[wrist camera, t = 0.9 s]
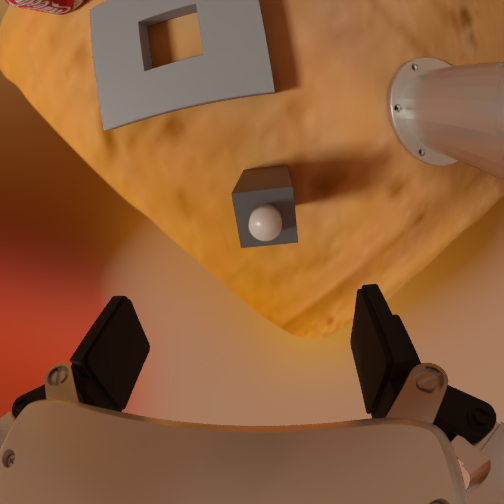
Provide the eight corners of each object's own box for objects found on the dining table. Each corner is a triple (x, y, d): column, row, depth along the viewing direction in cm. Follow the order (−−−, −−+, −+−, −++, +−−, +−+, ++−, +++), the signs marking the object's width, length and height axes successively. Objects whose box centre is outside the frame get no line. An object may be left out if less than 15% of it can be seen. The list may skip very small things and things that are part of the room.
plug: (287, 165, 29) (294, 192, 19) (291, 206, 31) (299, 251, 21) (243, 170, 29) (228, 199, 20) (249, 210, 31) (239, 256, 22)
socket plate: (251, -32, 18) (249, -42, 16) (274, 93, 25) (274, 91, 23) (100, 13, 20) (89, 9, 18) (115, 128, 27) (104, 130, 25)
